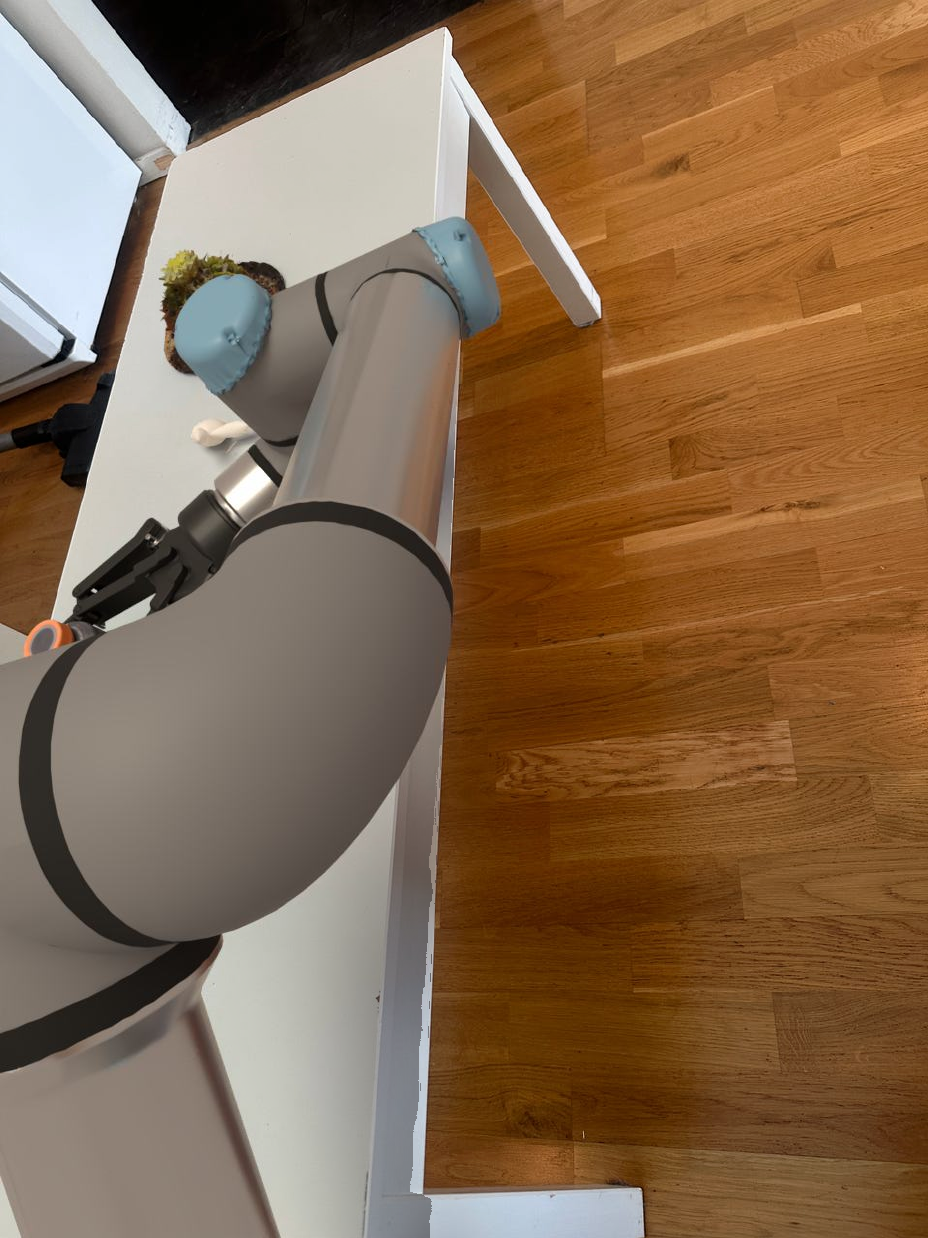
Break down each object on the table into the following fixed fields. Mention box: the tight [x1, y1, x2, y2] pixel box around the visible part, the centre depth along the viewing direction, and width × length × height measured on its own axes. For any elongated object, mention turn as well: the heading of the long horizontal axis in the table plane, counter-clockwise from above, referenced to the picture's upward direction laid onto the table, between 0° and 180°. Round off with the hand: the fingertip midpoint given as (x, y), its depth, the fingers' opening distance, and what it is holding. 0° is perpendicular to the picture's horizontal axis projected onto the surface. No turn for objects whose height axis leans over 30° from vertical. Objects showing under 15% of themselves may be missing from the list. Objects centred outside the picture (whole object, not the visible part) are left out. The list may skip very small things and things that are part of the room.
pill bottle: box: [23, 619, 106, 658], centre depth 72 cm, size 6×6×11 cm
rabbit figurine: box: [189, 418, 251, 453], centre depth 91 cm, size 6×4×8 cm
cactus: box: [158, 248, 285, 373], centre depth 98 cm, size 17×16×10 cm
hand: (42, 702), depth 72 cm, fingers closed on pill bottle, 6 cm apart
